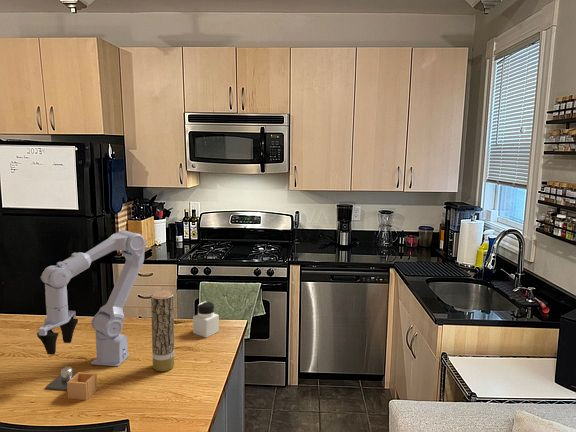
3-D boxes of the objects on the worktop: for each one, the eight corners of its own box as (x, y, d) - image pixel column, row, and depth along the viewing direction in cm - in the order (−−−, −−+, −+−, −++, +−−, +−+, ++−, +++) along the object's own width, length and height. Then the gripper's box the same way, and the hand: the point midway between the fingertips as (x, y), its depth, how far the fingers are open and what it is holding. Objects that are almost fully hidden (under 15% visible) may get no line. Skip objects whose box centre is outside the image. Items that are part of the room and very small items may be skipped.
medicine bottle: (219, 331, 167) (219, 302, 165) (206, 338, 161) (206, 308, 159) (205, 327, 170) (205, 298, 169) (192, 333, 164) (192, 304, 163)
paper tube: (154, 374, 134) (152, 298, 130) (151, 364, 140) (150, 291, 136) (175, 370, 137) (174, 296, 133) (172, 360, 143) (171, 289, 139)
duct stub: (87, 376, 132) (86, 363, 131) (71, 390, 124) (71, 377, 123) (62, 374, 132) (62, 361, 132) (46, 388, 124) (45, 375, 124)
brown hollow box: (97, 389, 125) (96, 373, 124) (86, 400, 119) (85, 383, 119) (79, 387, 125) (78, 372, 125) (67, 398, 120) (66, 382, 119)
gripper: (60, 296, 135) (62, 336, 137) (27, 313, 121) (30, 358, 123) (81, 298, 134) (83, 338, 136) (50, 315, 120) (53, 360, 122)
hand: (59, 348), depth 129 cm, fingers open, 7 cm apart
